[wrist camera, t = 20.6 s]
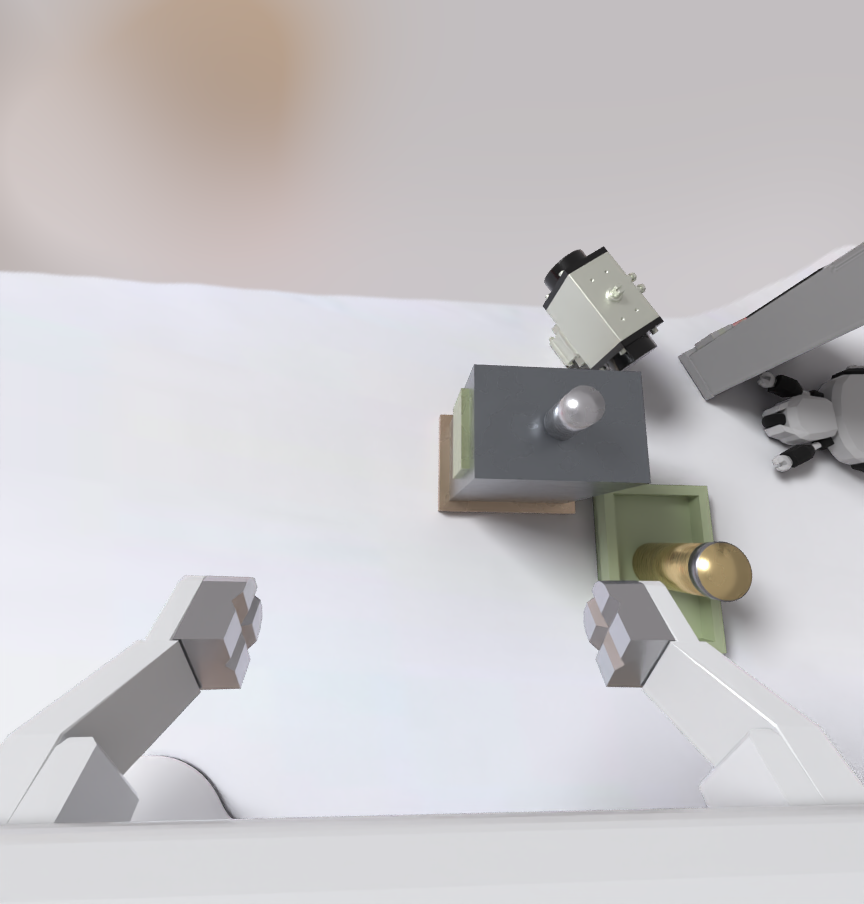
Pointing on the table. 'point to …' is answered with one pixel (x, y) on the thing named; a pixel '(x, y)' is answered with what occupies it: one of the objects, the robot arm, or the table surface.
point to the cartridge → (695, 568)
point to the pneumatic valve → (598, 312)
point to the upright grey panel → (782, 327)
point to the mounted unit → (541, 439)
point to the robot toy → (817, 418)
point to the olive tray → (657, 541)
